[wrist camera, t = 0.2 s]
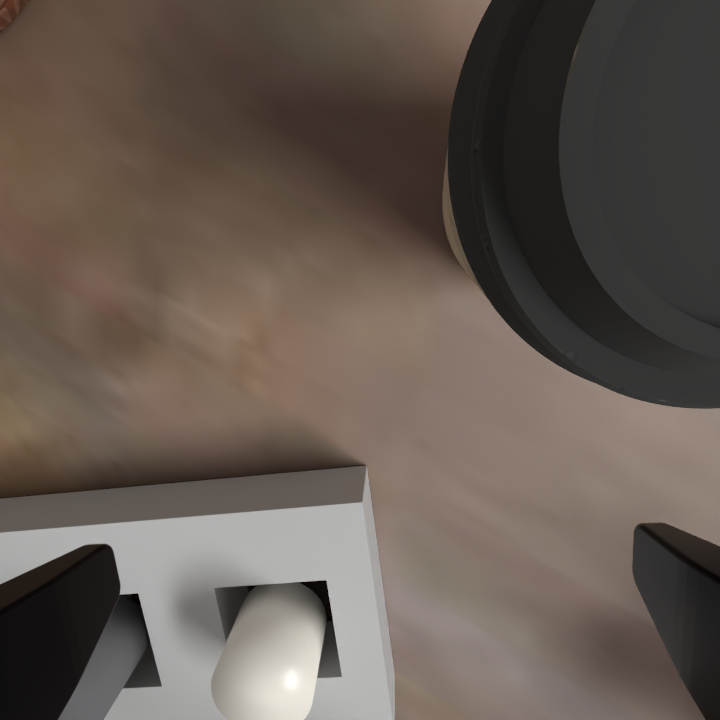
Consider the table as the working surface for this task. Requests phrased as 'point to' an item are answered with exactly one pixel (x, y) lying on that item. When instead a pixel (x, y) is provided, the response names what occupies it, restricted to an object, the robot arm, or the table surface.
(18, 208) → the table surface
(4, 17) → the planter
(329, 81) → the table surface
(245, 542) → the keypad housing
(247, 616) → the key ivory
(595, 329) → the coffee cup
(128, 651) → the key charcoal
